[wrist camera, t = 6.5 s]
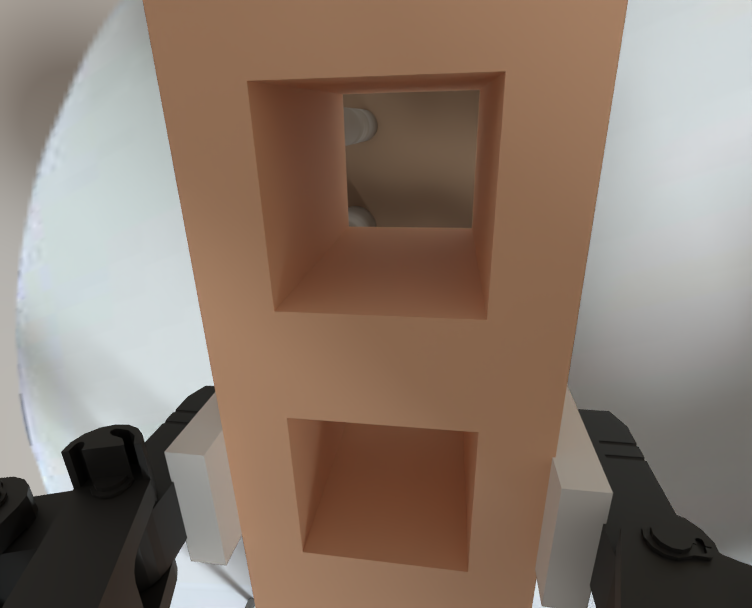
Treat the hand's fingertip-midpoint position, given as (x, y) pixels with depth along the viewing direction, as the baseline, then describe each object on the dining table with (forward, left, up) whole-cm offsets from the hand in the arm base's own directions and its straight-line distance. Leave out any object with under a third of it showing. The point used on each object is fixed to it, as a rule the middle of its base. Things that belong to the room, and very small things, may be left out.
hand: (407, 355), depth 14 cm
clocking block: (0, 0, 0) cm, 0 cm away
